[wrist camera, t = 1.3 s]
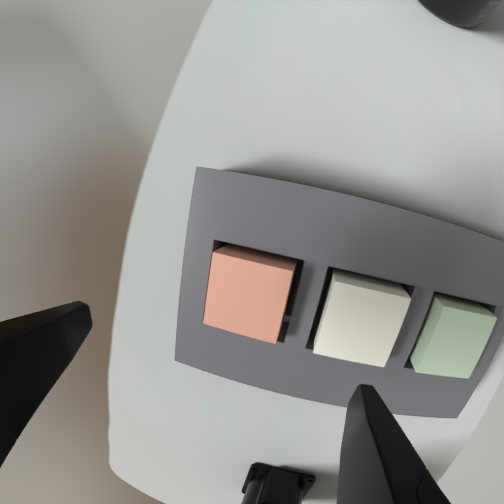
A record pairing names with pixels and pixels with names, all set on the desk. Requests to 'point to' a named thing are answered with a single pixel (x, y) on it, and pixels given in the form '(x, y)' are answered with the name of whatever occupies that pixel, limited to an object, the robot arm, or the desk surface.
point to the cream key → (360, 318)
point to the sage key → (451, 336)
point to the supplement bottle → (461, 10)
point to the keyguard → (317, 281)
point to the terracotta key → (248, 291)
